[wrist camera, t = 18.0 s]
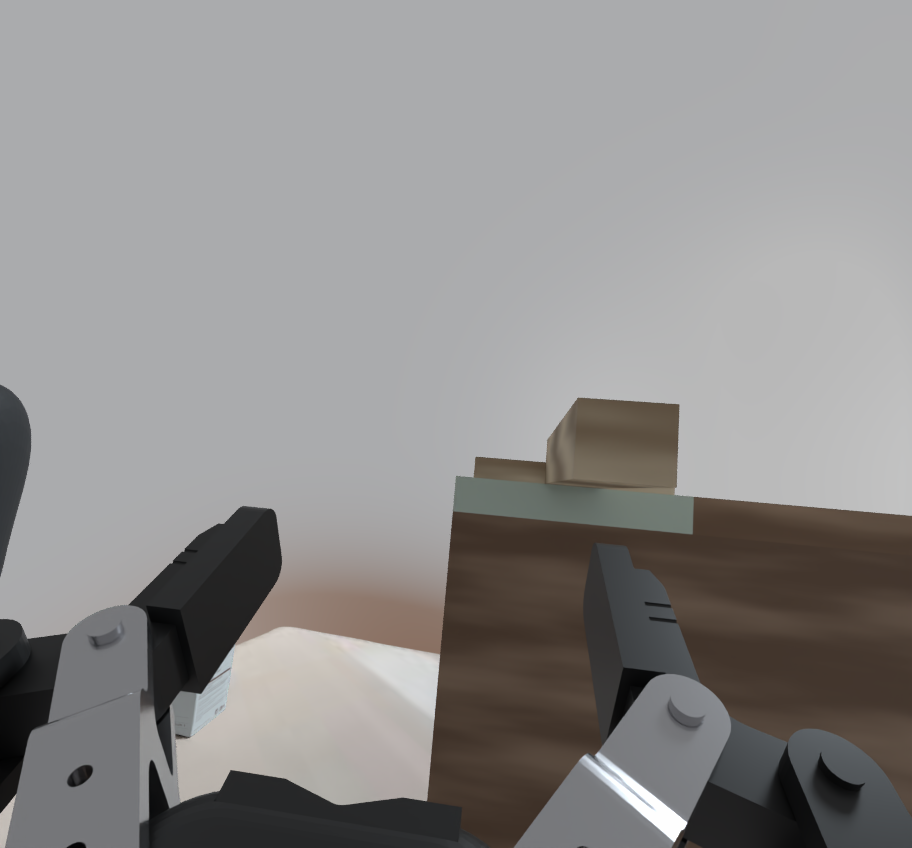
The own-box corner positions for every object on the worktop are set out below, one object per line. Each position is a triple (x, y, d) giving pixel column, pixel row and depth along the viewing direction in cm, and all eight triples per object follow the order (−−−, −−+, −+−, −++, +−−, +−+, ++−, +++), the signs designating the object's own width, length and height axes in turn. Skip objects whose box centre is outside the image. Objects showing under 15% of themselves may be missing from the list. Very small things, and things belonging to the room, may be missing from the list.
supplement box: (126, 730, 54) (145, 609, 55) (171, 701, 61) (187, 595, 63) (190, 739, 53) (208, 617, 54) (228, 709, 60) (242, 602, 62)
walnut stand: (985, 1216, 22) (960, 520, 25) (402, 1077, 25) (456, 476, 28) (784, 909, 37) (787, 508, 41) (445, 848, 40) (475, 480, 44)
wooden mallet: (822, 499, 14) (822, 413, 14) (443, 467, 15) (450, 389, 16) (624, 493, 39) (626, 461, 39) (484, 481, 40) (487, 450, 40)
